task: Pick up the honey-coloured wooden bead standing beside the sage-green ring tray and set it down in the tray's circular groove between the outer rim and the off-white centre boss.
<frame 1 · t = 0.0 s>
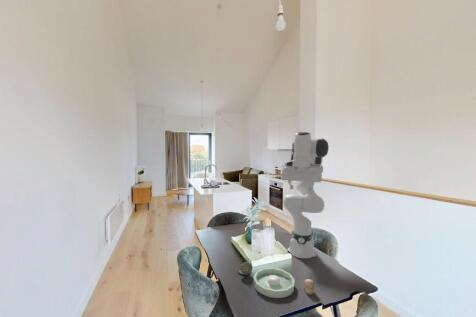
hand: (300, 189, 119), 48 cm above the table, fingers open, 8 cm apart
bead: (308, 291, 111), on the table
groove tray: (273, 285, 116), on the table
pocket watch: (244, 273, 126), on the table
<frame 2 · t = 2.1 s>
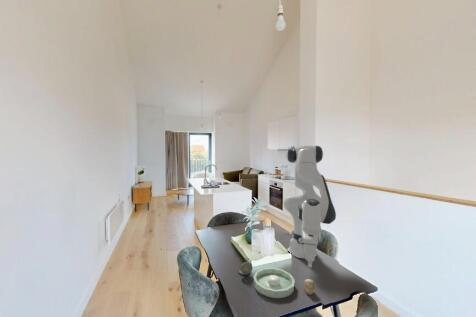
hand: (310, 261, 110), 15 cm above the table, fingers open, 8 cm apart
nothing on the table moved.
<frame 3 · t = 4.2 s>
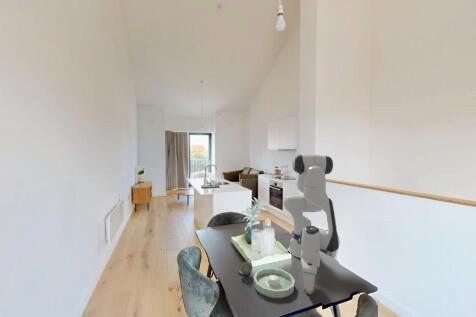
hand: (309, 288, 111), 2 cm above the table, fingers closed on bead, 4 cm apart
bead: (308, 291, 111), on the table, touching gripper
everything else where it was.
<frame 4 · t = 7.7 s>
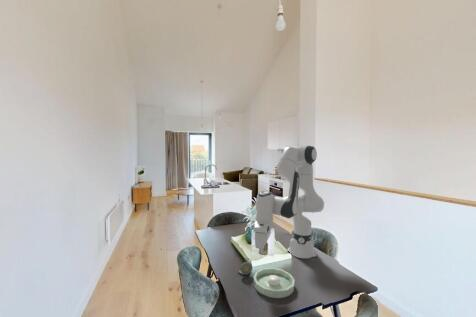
hand: (263, 250, 117), 17 cm above the table, fingers closed on bead, 4 cm apart
bead: (263, 253, 117), point 16 cm above the table, touching gripper
everything else where it was.
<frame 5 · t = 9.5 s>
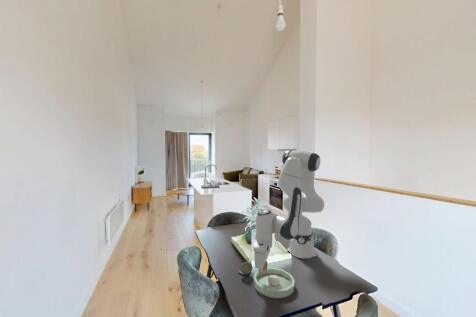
hand: (262, 268, 117), 8 cm above the table, fingers closed on bead, 4 cm apart
bead: (262, 271, 117), point 6 cm above the table, touching gripper
everything else where it was.
when the fingers open (4 cm above the table, at t = 11.1 s): bead drops 1 cm, resting on groove tray.
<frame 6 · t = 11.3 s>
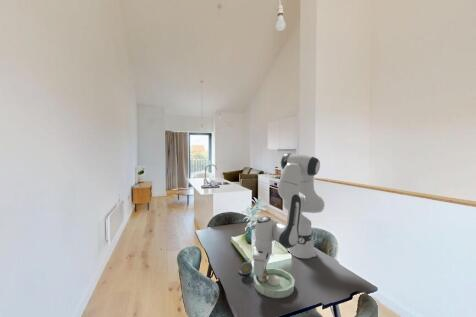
hand: (262, 275, 118), 4 cm above the table, fingers open, 7 cm apart
bead: (262, 280, 118), point 1 cm above the table, touching groove tray
everything else where it was.
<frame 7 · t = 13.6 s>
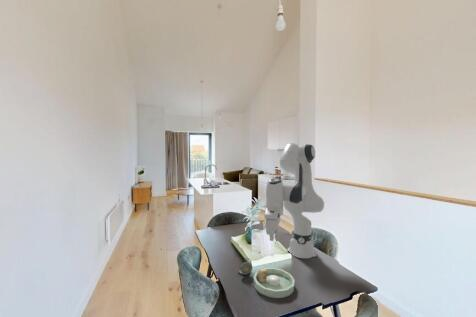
hand: (273, 236, 119), 24 cm above the table, fingers open, 8 cm apart
nothing on the table moved.
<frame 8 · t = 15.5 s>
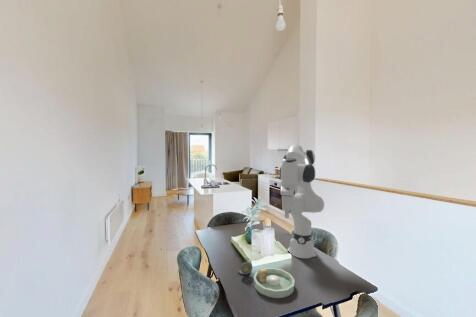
hand: (288, 215, 121), 34 cm above the table, fingers open, 8 cm apart
nothing on the table moved.
at the end: bead 0.1 cm from the target spot on the groove tray, point 1.0 cm above the groove tray's base; bead tilted 0°; the gripper is holding nothing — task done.
